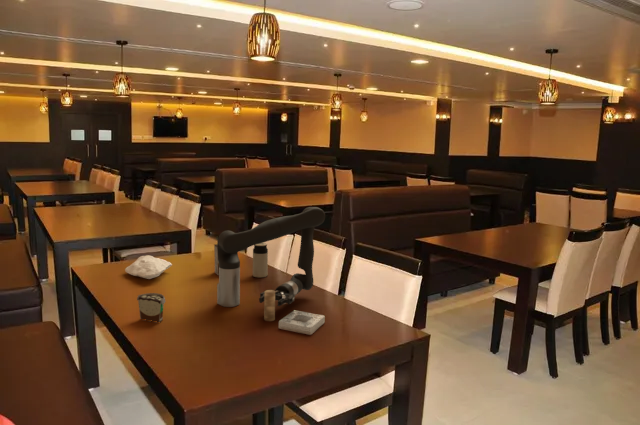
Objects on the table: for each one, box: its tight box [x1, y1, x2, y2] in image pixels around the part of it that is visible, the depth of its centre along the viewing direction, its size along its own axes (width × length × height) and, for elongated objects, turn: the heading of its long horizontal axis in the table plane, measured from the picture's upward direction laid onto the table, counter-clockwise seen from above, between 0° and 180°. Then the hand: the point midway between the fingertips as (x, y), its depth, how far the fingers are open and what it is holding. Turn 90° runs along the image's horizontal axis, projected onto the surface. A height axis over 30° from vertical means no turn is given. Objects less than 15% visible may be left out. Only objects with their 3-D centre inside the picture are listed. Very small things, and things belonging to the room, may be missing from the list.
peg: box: [263, 289, 276, 322], centre depth 198 cm, size 4×4×12 cm
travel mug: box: [252, 242, 269, 278], centre depth 259 cm, size 8×8×18 cm
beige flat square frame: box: [278, 309, 326, 336], centre depth 193 cm, size 14×14×3 cm
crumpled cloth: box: [124, 254, 173, 280], centre depth 255 cm, size 24×35×9 cm
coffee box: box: [213, 243, 219, 276], centre depth 263 cm, size 9×6×16 cm
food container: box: [136, 292, 166, 323], centre depth 195 cm, size 12×6×10 cm, turn 71°
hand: (269, 302), depth 198 cm, fingers open, 8 cm apart
